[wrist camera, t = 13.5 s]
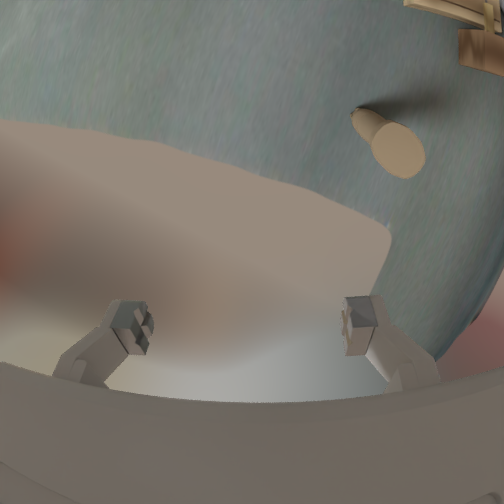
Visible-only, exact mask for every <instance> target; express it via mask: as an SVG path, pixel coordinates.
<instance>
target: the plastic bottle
mask: <svg viewBox="0 0 504 504" xmlns="http://www.w3.org/2000/svg"><path fill="white" fill-rule="evenodd" d="M499 4H500V7H501V9H502V10H503V12H504V0H499Z"/></svg>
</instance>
